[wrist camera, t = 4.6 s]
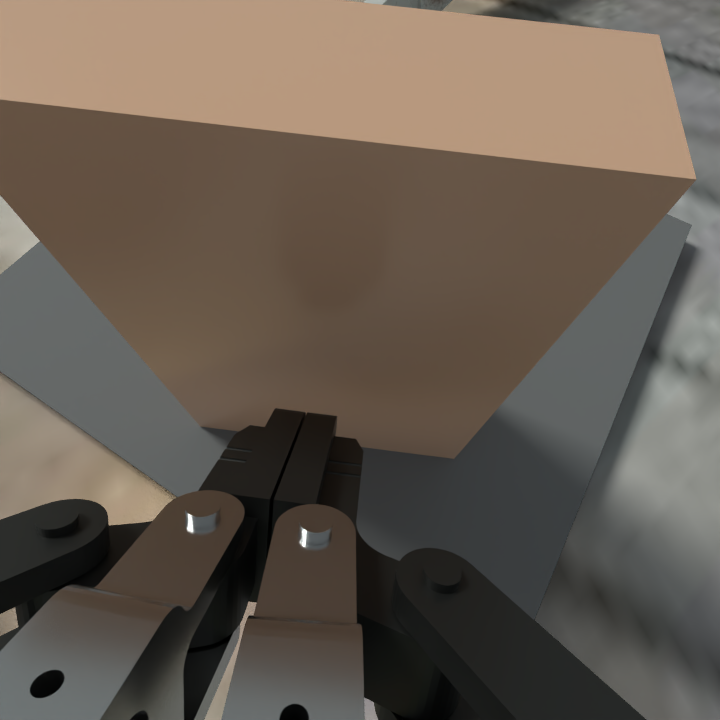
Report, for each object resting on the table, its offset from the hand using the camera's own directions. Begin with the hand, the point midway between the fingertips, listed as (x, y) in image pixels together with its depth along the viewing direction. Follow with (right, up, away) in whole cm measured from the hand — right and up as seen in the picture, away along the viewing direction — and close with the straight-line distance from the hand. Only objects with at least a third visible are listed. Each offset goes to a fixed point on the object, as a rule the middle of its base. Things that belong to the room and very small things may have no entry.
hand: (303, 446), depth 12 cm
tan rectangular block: (0, 0, +8) cm, 8 cm away
